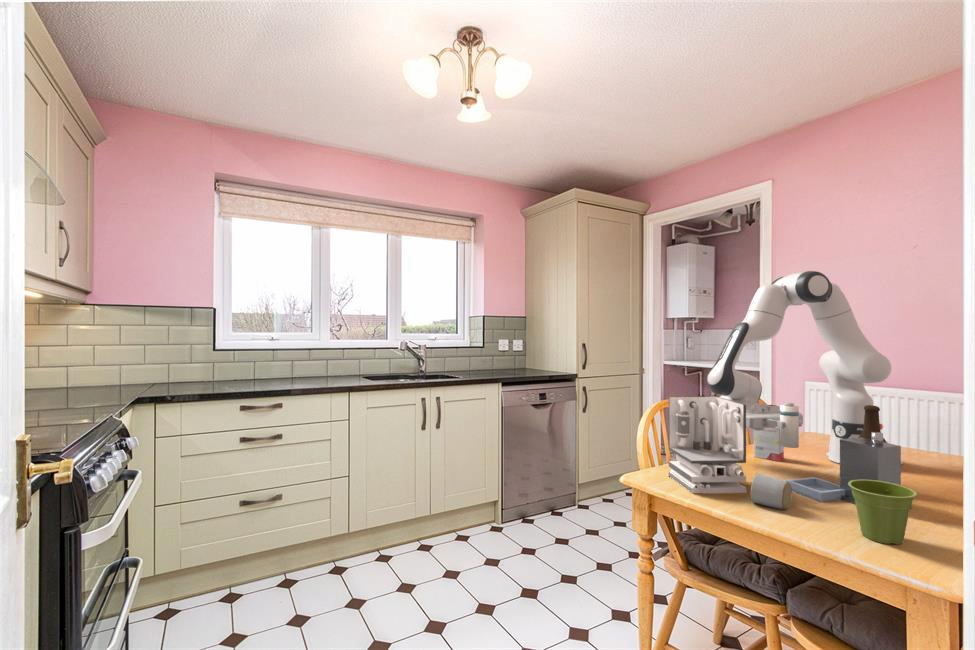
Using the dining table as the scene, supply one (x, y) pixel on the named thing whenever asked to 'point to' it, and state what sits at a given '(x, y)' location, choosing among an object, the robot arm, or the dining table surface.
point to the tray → (817, 489)
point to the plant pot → (882, 509)
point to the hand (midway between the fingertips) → (792, 424)
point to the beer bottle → (871, 421)
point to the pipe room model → (707, 444)
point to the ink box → (768, 444)
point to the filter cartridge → (789, 425)
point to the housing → (868, 462)
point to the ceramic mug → (771, 492)
